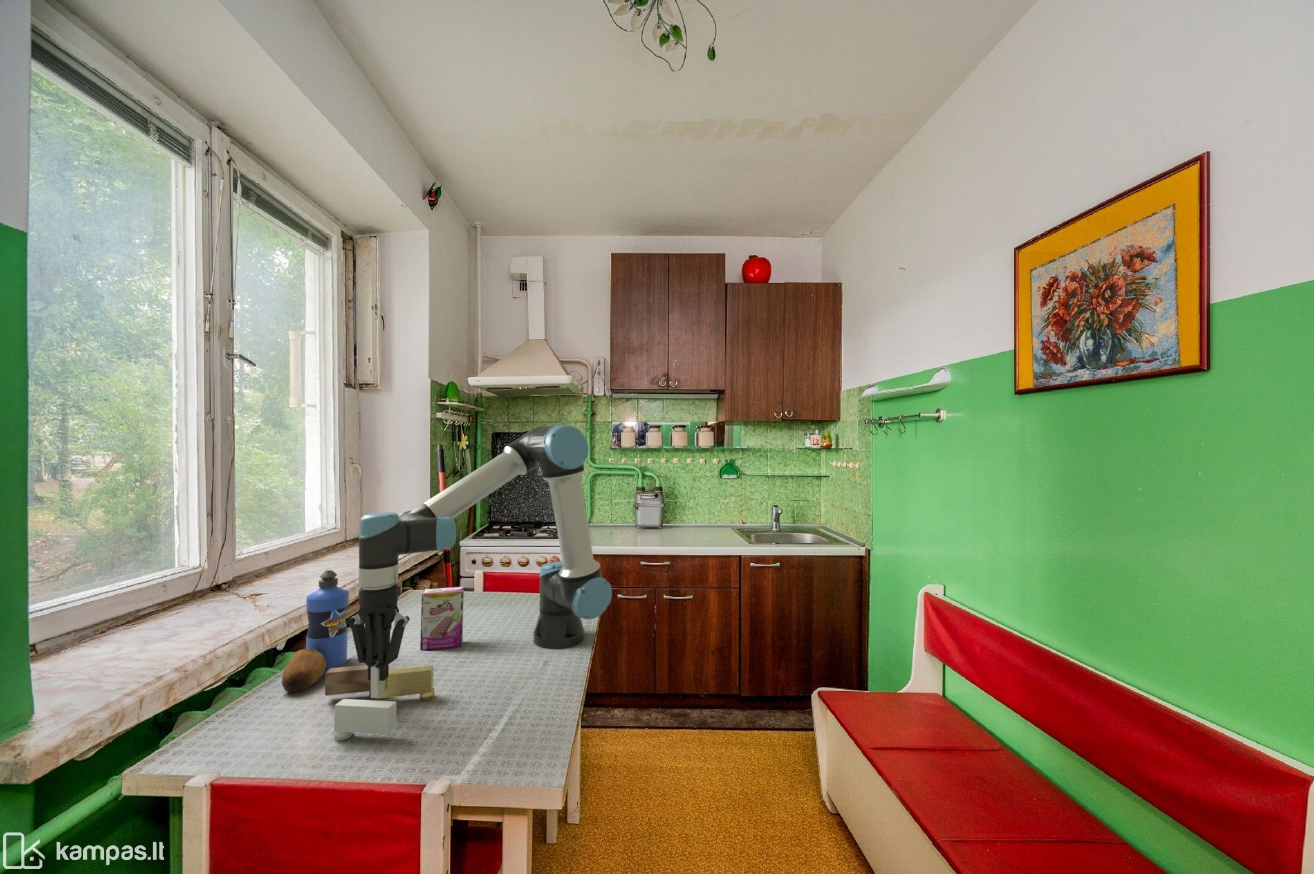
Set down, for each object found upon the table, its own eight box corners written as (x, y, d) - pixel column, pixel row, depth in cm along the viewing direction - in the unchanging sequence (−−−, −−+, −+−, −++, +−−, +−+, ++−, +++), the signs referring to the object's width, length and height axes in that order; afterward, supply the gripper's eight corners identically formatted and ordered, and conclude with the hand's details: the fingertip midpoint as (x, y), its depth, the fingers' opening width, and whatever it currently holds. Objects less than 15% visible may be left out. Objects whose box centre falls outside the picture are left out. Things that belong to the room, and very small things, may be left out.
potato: (304, 710, 115) (268, 698, 112) (315, 673, 127) (282, 662, 124) (325, 682, 116) (290, 670, 112) (334, 648, 128) (303, 636, 124)
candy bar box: (419, 652, 141) (420, 593, 141) (422, 645, 146) (423, 588, 146) (462, 647, 144) (463, 590, 145) (463, 641, 149) (464, 585, 149)
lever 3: (435, 693, 115) (435, 664, 115) (432, 700, 112) (433, 670, 112) (379, 699, 112) (380, 670, 112) (376, 706, 109) (376, 676, 109)
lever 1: (385, 691, 116) (386, 662, 116) (382, 697, 113) (382, 668, 113) (329, 697, 113) (330, 667, 113) (324, 703, 110) (325, 673, 110)
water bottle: (355, 663, 133) (357, 569, 134) (319, 677, 125) (321, 577, 125) (333, 657, 137) (335, 565, 138) (296, 670, 129) (298, 573, 129)
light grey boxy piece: (330, 740, 96) (331, 705, 96) (341, 731, 99) (342, 698, 99) (387, 743, 95) (387, 708, 96) (396, 734, 98) (397, 700, 98)
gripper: (417, 580, 111) (416, 687, 111) (362, 579, 113) (361, 685, 112) (396, 590, 104) (396, 705, 104) (337, 589, 105) (337, 702, 105)
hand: (378, 694), depth 108 cm, fingers closed
